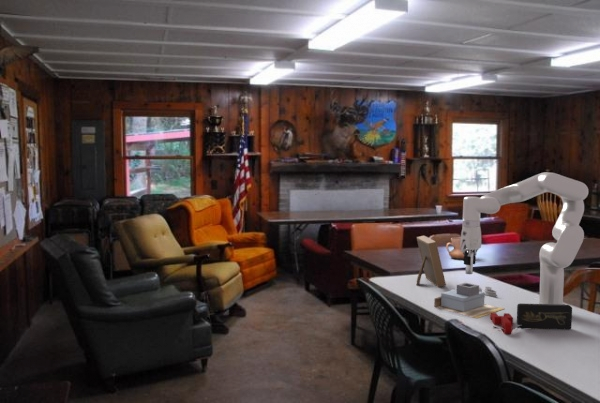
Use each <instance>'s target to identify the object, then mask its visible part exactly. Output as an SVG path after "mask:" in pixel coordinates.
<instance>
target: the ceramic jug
mask: <svg viewBox="0 0 600 403" xmlns="http://www.w3.org/2000/svg"><path fill="white" fill-rule="evenodd" d="M450 241H451V242H447V243H446V246H445V248H446V251H447V252H448V255H449V257H451V258H453V259H455V260H464V255H463V252H461V236H459V237H451V238H450ZM449 245H450V246H452V247H453V249H451V250H450V249H449ZM466 251H467V250H466Z"/></svg>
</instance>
